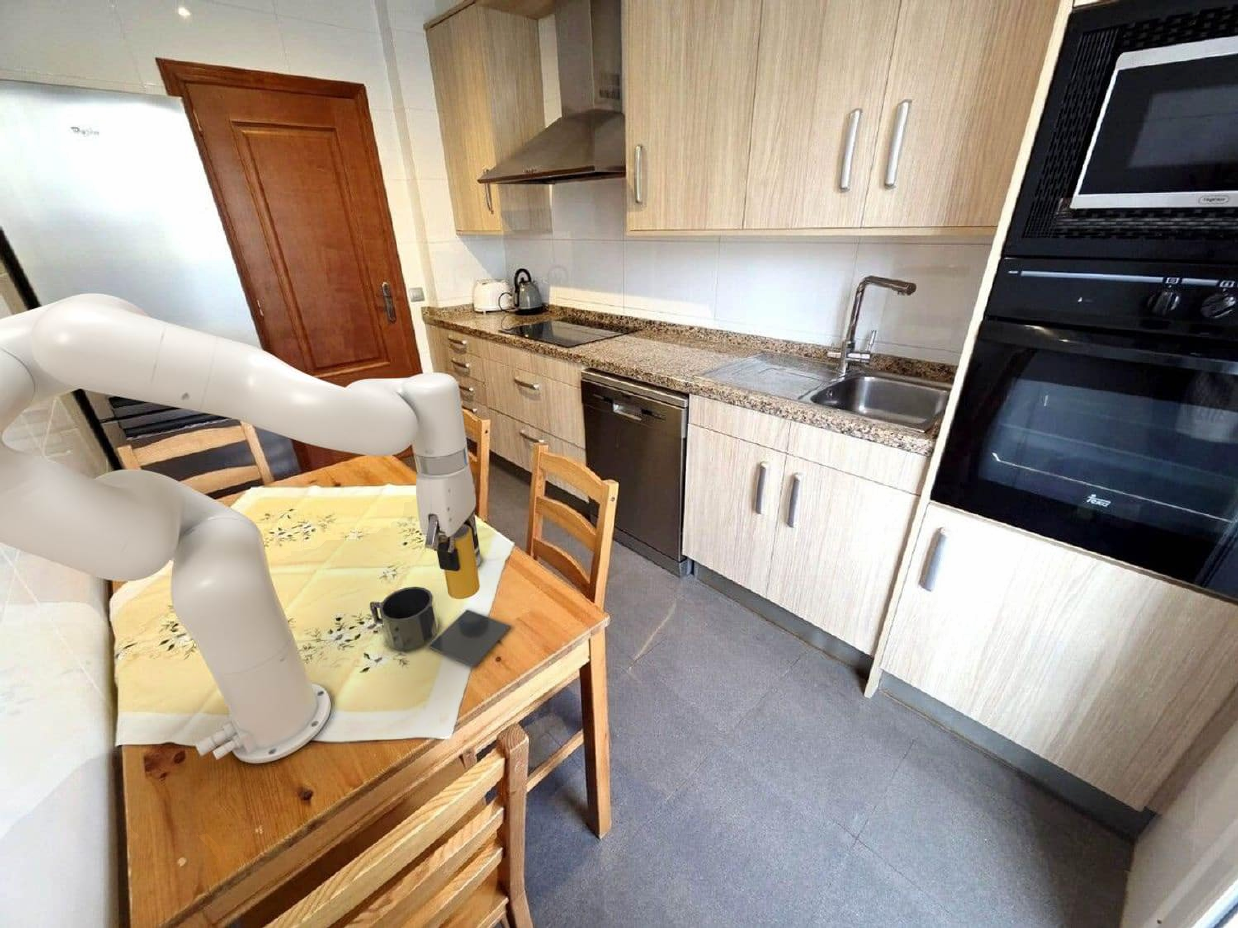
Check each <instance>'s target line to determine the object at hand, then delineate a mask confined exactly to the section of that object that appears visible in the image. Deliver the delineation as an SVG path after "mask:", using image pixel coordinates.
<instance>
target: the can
mask: <svg viewBox="0 0 1238 928" xmlns="http://www.w3.org/2000/svg"><path fill="white" fill-rule="evenodd" d="M440 530H442V529H441V528H440ZM441 542H444V543H447V537H444V536H441ZM454 548H455V549H457V552H458V558H459V564H460V569H459V571H451V570H443V572H444V577H445V583H446V588H447V593H448V595H449V596H450V598H453V599H456V600H465V599H469V598H471V597H473V596H474V595H476V594H477V593H478V592H479V590H480V588H481V583H480V578H479V577H480V576H479V570H478V566H477V563H476V556H475V550H474V543H473V536H472V530H471V528H470V527H469V526H468V525H465V524H462V525H461V527H460V528H459V529H458V530H457V531H456V532H455V533H454Z"/></svg>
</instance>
